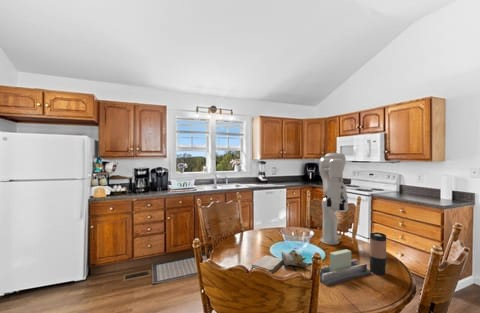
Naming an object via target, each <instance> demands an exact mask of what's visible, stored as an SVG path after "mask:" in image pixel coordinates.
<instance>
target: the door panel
mask: <svg viewBox="0 0 480 313" xmlns="http://www.w3.org/2000/svg"><path fill="white" fill-rule="evenodd" d="M351 260H352V251H351V250H350V249H347V248H346V249H340V250H337V251H332V252H331V251H330V252H329V265H330V271H329V272H332V271H336V270H340V269H344V268H348V267H351Z"/></svg>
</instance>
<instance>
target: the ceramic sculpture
mask: <svg viewBox="0 0 480 313" xmlns="http://www.w3.org/2000/svg"><path fill="white" fill-rule="evenodd" d="M280 253H281V259H282V260H283V264H284V266H286V267H287V266H289V265H291V266H295V267H300V268H307V267H311V265H310V264H307V263H306V262H305V260H306V259H307V258H306V257H303V255H302V254H301V252H299V251H296V250H295V249H293V250H290V251H289V252H284V251H281V252H280Z"/></svg>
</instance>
